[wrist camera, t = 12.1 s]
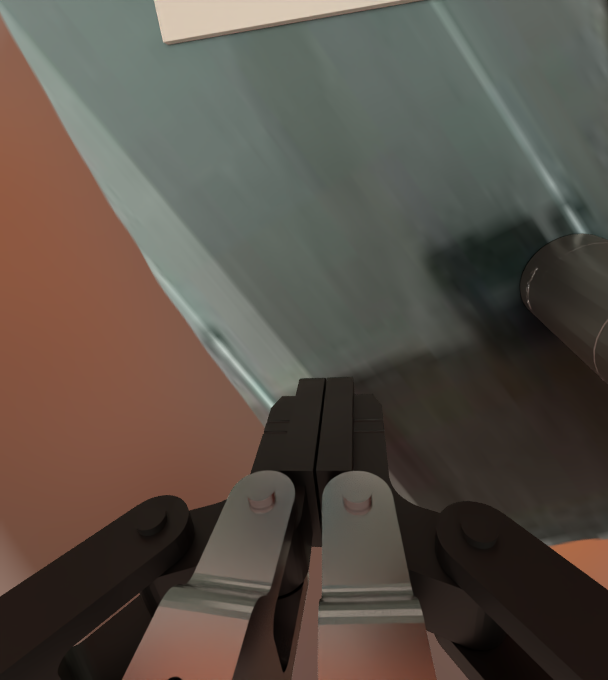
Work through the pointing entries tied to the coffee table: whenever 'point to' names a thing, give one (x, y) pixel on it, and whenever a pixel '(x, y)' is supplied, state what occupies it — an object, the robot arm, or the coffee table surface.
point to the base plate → (247, 15)
